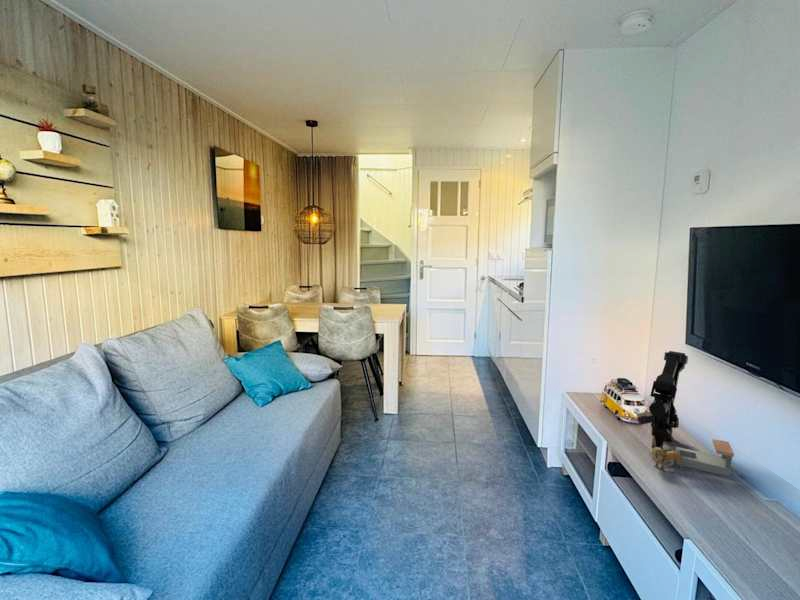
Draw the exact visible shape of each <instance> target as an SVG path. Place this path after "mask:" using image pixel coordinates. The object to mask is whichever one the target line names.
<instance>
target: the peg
mask: <svg viewBox="0 0 800 600" xmlns="http://www.w3.org/2000/svg"><path fill="white" fill-rule="evenodd" d="M651 442H652V443H651V450H652V449H654V448H655V447H656V440H655V436H652V439H651ZM664 442H665V441H664ZM664 442H663V444H662V445H661V446H660V448H661V449H663V450H664Z"/></svg>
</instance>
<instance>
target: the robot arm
mask: <svg viewBox="0 0 800 600" xmlns="http://www.w3.org/2000/svg"><path fill="white" fill-rule="evenodd" d="M663 361H665V364H664V366H663V370H662V372H661V374H659V375H657V377H656V378H655V380H653V382H652V388H651V392H650V395H649V396H650V397H652V398H654V400H653V401H652V402H651V404H650V405H649V407H648V410H649V412H638V413H636V418H637V421H638V424H639V425H643V424H650V427H651V432H650V433H651V436H652V437H653V436H655V440H656V447H659V448H660V446H661V445H662V444H663V445H664V443H663V442H666V441H669V442H673V441H674V438H673V428H674V429H678V428H679V425H680V424H679V423H680V420H679V417H678V414H677V409H676V407H675V400H676V395H677V392H678V384H679V383H678V381H679V378H680V373H681V372H682V371H683V370H684V369H685V367H686V365H687V364H688V361H689V356H688V355H686V353H685V352H679V351H672V350H669V351H668V352H667V351H665V352H664V356H663Z"/></svg>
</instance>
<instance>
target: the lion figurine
mask: <svg viewBox="0 0 800 600" xmlns="http://www.w3.org/2000/svg"><path fill="white" fill-rule="evenodd" d="M651 457H652V460H653V461H654V462H655V464H654V465H653V467H654V468H656V469H657V468H659V464H661V467H660V471H662V472H664V471H665V466H666V465H667V466H668V467H672V466H673V465H674V464H675V462H676V461H677V462H678V463H679V464H680V465H679V469H680V470H684V466H683V463H682V456H681V454H680V453H679V452H677V451H675V450H671V451H665V450H664V448H663V449H661V448H659V447H655V448H654V449H652V448H651ZM675 460H676V461H675ZM667 462H670V463H667ZM666 463H667V464H666Z"/></svg>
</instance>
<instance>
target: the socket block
mask: <svg viewBox="0 0 800 600" xmlns="http://www.w3.org/2000/svg"><path fill="white" fill-rule="evenodd" d="M674 451H677V452H679V453H680V454H681V456H682V463H683V467H687V468H691V469H695V470H699V471H704V472H708V473H712V474H717V475H721V476H725V477H730V478H731V475H732V468H726V467H725V463H726V459H723V458H722V457H721V456H722V455H716V454H711V453H707V452H703V451H697V450H693V449H688V448H684V447H680V446H674ZM674 462H675V465H678V466H681V465H680V464H679V463H678V462H677V461H676V460H674Z"/></svg>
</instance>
